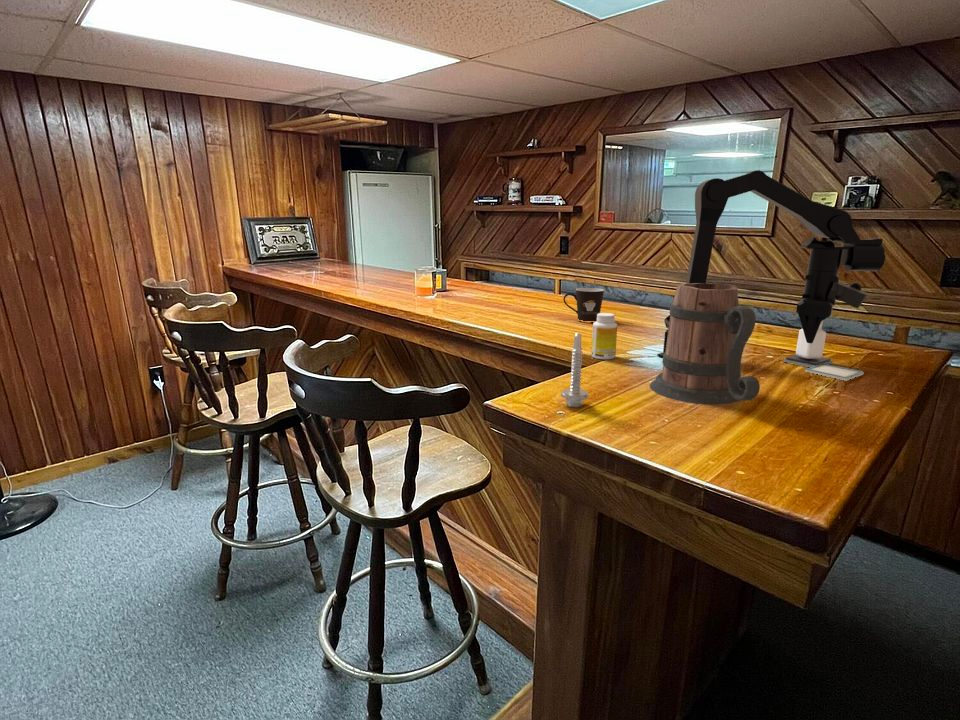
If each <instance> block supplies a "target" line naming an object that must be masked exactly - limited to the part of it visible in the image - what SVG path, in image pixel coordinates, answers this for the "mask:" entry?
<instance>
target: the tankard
mask: <svg viewBox="0 0 960 720" xmlns="http://www.w3.org/2000/svg"><path fill="white" fill-rule="evenodd" d="M674 293H675V294H674V297H673V301H672V303H671V304H670V307H669V315H670V322H669V330H668V329H667V330H668V337H667V344H666V351H665V353H664V354H663V357H662V362H661V363H662V371H661V372H660V373H659V374H657V375H656V378H655V379H654V380H652V381H651V382H650V384H649V389H651V391H653V392H654V393H656V394H657V395H659V396H660V397H665V398H667V399H670V400H674V401H677V402H683V403H688V404H695V405H696V404H697V405H706V406H707V405H708V406H711V405H712V406H716V405H719V406H720V405H723V406H724V405H730V404H731V405H732V404H735V403H738V402H741V401H751V400H753V399H755V398H756V397H757V396H758V394H759V391H760V386H761V385H760V384H761V383H760V382H759V380H758V378H757V377H755V376H753V375H749V376H748V375H747V376H742V375H741V366H742V357H743V353H744V349H745V347H746V345H747V343H748V341H749V339H750V338H751V336H752V334H753V332H754V328H755V326H756V313H755V311H754V310H753V309H752V308H751V307H750V306H745V305H744V306H743V305H741V306H740V305H739V290H738V286H736V285H733V284H729V283H706V284H704V283H686V282H685V283H681V284H677V286H676V289H675V292H674Z"/></svg>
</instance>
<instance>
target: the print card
mask: <svg viewBox="0 0 960 720" xmlns="http://www.w3.org/2000/svg"><path fill="white" fill-rule="evenodd" d="M804 371H805V372H804V373H807V372H810V373H809V374H812V373H814V374H813V375H816V374H818V375H817V376H821V375H822V377H825V376H826V377H827V378H830V377H831V379H834V378H836V379H835V380H839V379H840V380H839V381H843V380H844V382H847V381H851V380H853V379H856V378H858V377H860V376H863V375H864V373H865V372H864V371H863V370H860V369H859V370H858V369H852V368H848V367H842V366H838V365H833V364H831V365H829V364H824V365H823V364H822V365H821V366H818V367H817V366H813V367H810V368H807V367H806V368H805V369H804ZM855 377H856V378H855ZM850 379H851V380H850Z"/></svg>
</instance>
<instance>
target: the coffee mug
mask: <svg viewBox="0 0 960 720" xmlns="http://www.w3.org/2000/svg"><path fill="white" fill-rule="evenodd" d="M604 292H605V290H604V288H597V287H581V288H578V287H577V288H576V289H575V293H571V292H569V293H566V294H565V295H563V302H564V305H566V306H567V307H568V308H569V309H570V310H572V311H574V312H575V313H576V315H577V320H578V319H579V320H583V321H597V314H599V313H601V310H602V304H603V298H604ZM568 296H573V298H574V300H575V301H576V309H575V308H573V307H572V306H570V305H569V304H568V303H567V301H566V298H567V297H568Z"/></svg>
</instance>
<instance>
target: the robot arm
mask: <svg viewBox="0 0 960 720" xmlns="http://www.w3.org/2000/svg"><path fill="white" fill-rule="evenodd" d="M748 192H751V193H753V194H754V195H756V196H759V197H760V198H761V199H763V200H765V201H767V202H768V203H770V204H772V205H774V206H775V207H778V208H779V209H781V210H783V211H785V212H787V213H788V214H790V215H792V216H794V217H796V218H797V220H799V221H800V223H802V225H803V226H804V227H805V228H806V229H807V230H809V231H810V232H811V233H812V234H813V235H814V236H816V237H819V238H825V239H828V240H818V239H817V238H816V237H814V236H810V237H809V238H808V239H807V240H806V241H804V242H803V243H800V246H799V247H800V248H802V249H807V250H810V254H809V257H808V265H807V272H806V274H805V278H804V281H805V282H804V283H805V284H804V288H803V289H804V290H803V293H802V297H801V299H800V300H799V301H798V302H797V304H796V309H795V310H796V311H795V313H797V315H798V317H799V320H800V324H801V329H803V331H804V335H805V338H806V342H807V343H813V341H814V338H815V336H816V333H817V331H818V329H819V326H820V324H821V321H823V322H824V321H825V320H826V319H828V318H830V316H831V315H832V313H833V310H834V306H836V302H837V300H838V301H840V302H843V303H845V304H847V305H849V306H851V307H852V308H855V309H859V308H860V306H861V305H862V303H863V302H864V300H865V298H867V295H868V293H867V292H866V291H864V290H862V284H861V283H858V282H855V281H853V282H852V283H850V284H849V285H848V284H846V283H842V282H839V281H840V276H839V272H840V271H839V270H840V266H842V267H843V269H844V270H845V271H849V272H859V271H860V272H878V271H880V270H881V269H882V268H883V266H884V264H885V261H886V253H885V251H886V250H885V247H884V246H883V238H866V239H865V238H864V239H863V238H860V237H859V235H858V234H857V232H856V230H855V229H854V227H853V221H852V216H851V214H850V213H849V212H848V211H846V210H844V209H840V208H838V207H834V206H831V205H828V204H824V203H820V202H817V201H814V200H811V199H810V198H809V197H807V196H805V195H803V194H801V193H799V192H798V191H796V190H794V189H792V188H791V187H788V186H787V185H784V184H783V183H782V182H780V181H777V180H776V179H774V178H772V177H771V176H769V175H767V174H766V173H765V172H764V171H762V170H760V169H759V170H758V169H757V170H753V171H749V172H747V173H746V174H742V175H739V176H735V177H732V178H729V179H725V180H724V179H722V178H711V179H707V180H704V181H703V182H701V183H700V184H699V185H697V187H696V189H695V192H694V212H695V220H696V221H695V229H694V235H693V239H692V247H691V251H690V257H689V263H688V269H687V274H686V275H687V276H686V280H685V284H686V283H704V284H707V283H706V282H707V280H708V279H707V278H708V272H709V268H710V262H711V259H712V258H711V256H712V251H713V247H714V241H715V237H716V230H717V224H718V222H719V220H720V219H721V216H722V214H723V213H724V210H725V208H726V205H727V203H728V200H729V198H732V197H735V196H739V195H743V194H745V193H748ZM835 243H842V244H843V245H835ZM663 322H664V325H665V328H667V329H666V330H665V331H664V339H663V351H662V352H661V353H660V352H659V353H657V355H656V356H657V357H660V358H663V354H664V353H665V351H666V344H667V337H668V330H669V322H670V314H669V315H668V316H666V317H665V318H664V320H663Z"/></svg>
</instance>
